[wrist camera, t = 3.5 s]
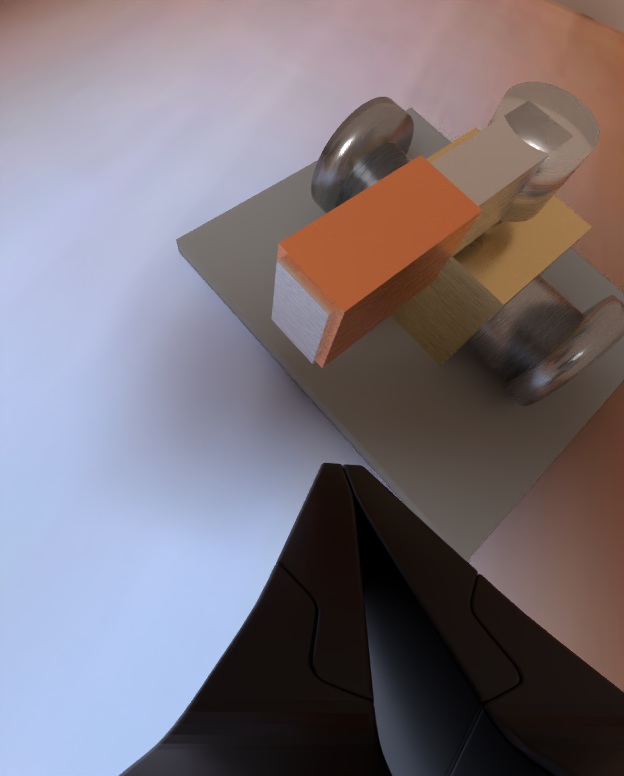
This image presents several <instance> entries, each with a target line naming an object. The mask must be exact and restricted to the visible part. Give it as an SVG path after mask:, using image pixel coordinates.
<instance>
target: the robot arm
mask: <svg viewBox="0 0 624 776" xmlns="http://www.w3.org/2000/svg"><path fill="white" fill-rule="evenodd" d="M477 574H478V572H477V570H476V569H474V568H473V567H472V566H471V565H470V564H469V563H468V562H467V561H466V560H465V559H464V558H463V557H461V556H460V555H459V554H458V553H457V552H456V551H455V550H454V549H453V548H452V547H451V546H449V545H448V544H447V543H446V542H445V541H444V540H443V539H442V538H441V537H440V536H439V535H437V534H436V533H435V532H434V531H433V530H432V529H431V528H430V527H429V526H428V525H427V524H425V523H424V522H423V521H422V520H421V519H420V518H419V517H418V516H417V515H416V514H415V513H413V512H412V511H411V510H410V509H409V508H408V507H407V506H406V505H405V504H404V503H403V502H401V501H400V500H399V499H398V498H397V497H396V496H395V495H394V494H393V493H392V492H391V491H389V490H388V489H387V488H386V487H385V486H384V485H383V484H382V483H381V482H380V481H379V480H377V479H376V478H375V477H374V476H373V475H372V474H371V473H370V472H369V471H368V470H367V469H365V468H364V467H363V466H360V465H343V467H342V465H341V464H333V463H323V464H322V465H321V467H320V469H319V471H318V474H317V476H316V478H315V480H314V482H313V484H312V487H311V489H310V491H309V493H308V495H307V497H306V500H305V502H304V504H303V506H302V508H301V510H300V513H299V515H298V517H297V519H296V521H295V523H294V526H293V528H292V530H291V532H290V534H289V536H288V539H287V541H286V543H285V545H284V547H283V549H282V552H281V554H280V556H279V558H278V560H277V562H276V565H275V566H274V568H273V570H272V573H271V575H270V577H269V579H268V581H267V583H266V585H265V587H264V589H263V591H262V593H261V595H260V597H259V599H258V600H257V602H256V604H255V606H254V607H253V609H252V611H251V612H250V614H249V616H248V617H247V619H246V620H245V622H244V624H243V625H242V627H241V629H240V630H239V632H238V633H237V635H236V636H235V637H234V639H233V640H232V642H231V643H230V645H229V646H228V648H227V649H226V651H225V652H224V654H223V655H222V657H221V658H220V660H219V661H218V663H217V664H216V666H215V667H214V669H213V670H212V672H211V673H210V675H209V676H208V678H207V679H206V681H205V682H204V684H203V685H202V687H201V688H200V690H199V691H198V693H197V694H196V695H195V697H194V698H193V700H192V701H191V703H190V704H189V706H188V707H187V708H186V710H185V711H184V713H183V714H182V715H181V716H180V718H179V719H178V720H177V722H176V723H175V724H174V726H173V727H172V728H171V729H170V730H169V731H168V733H167V734H166V735H165V736H164V737H163V738H162V739H161V740H160V741H159V742H158V743H157V744H156V745H155V746H154V747H153V748H152V749H151V750H150V751H149V752H147V753H146V754H145V755H144V756H143V757H141V758H140V759H139V760H138V761H136V762H135V763H134V764H133V765H131V766H130V767H129V768H128V769H126V770H125V771H124V772H123V773H122V774H120V775H119V776H624V692H622V691H621V690H620V689H619V688H617V687H616V686H615V685H614V684H612V683H611V682H610V681H609V680H607V679H606V678H605V677H603V676H602V675H601V674H600V673H598V672H597V671H596V670H595V669H593V668H592V667H591V666H590V665H588V664H587V663H586V662H585V661H583V660H582V659H581V658H579V657H578V656H577V655H576V654H574V653H573V652H572V651H571V650H569V649H568V648H567V647H566V646H564V645H563V644H562V643H561V642H559V641H558V640H557V639H556V638H554V637H553V636H552V635H551V634H549V633H548V632H547V631H546V630H545V629H543V628H542V627H541V626H540V625H538V624H537V623H536V622H535V621H534V620H532V619H531V618H530V617H529V616H527V615H526V614H525V613H524V612H523V611H521V610H520V609H519V608H518V607H517V606H516V605H515V604H514V603H512V602H511V601H510V600H509V599H508V598H507V597H506V596H504V595H503V594H502V593H501V592H500V591H499V590H498V589H497V588H495V587H494V586H493V585H492V584H491V583H490V582H489V581H488V580H487V579H486V578H485V577H483V576H482V575H481V574H478V575H477Z"/></svg>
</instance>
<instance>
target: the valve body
mask: <svg viewBox="0 0 624 776" xmlns="http://www.w3.org/2000/svg"><path fill="white" fill-rule="evenodd" d="M413 132H414V123H413V120H412V118H411V116H410V115H409V114H408V113H406V112H405V111H404V110H403V109H402V108H401V107H400V106H398V105H397V104H396V103H395V102H394V101H393V100H392V99H390V98H388V97H378V98H374V99H372V100H370V101H368V102H366V103H365V104H363V105H362V106H360V107H359V108H358V109H356V110H355V111H354V112H353V113H352V114H351V115H350V116H349V117H348V118H347V119H346V120H345V121H344V122H343V123H342V124H341V125H340V126H339V128H338V129H337V130H336V131H335V133H334V134H333V135H332V137H331V138H330V140H329V141H328V143H327V145H326V146H325V148H324V150H323V152H322V153H321V156H320V158H319V160H318V162H317V165H316V167H315V170H314V173H313V177H312V182H311V194H312V198H313V200H314V201H315V203H316V204H317V205H318V206H319V207H320V208H321V209H322V210H323V211H324V212H325V213H328V212H330V211H331V210H333V209H335V208H336V207H338V206H339V205H341V204H343V203H344V202H346V201H347V200H349V199H351V198H352V197H354V196H355V195H357V194H359V193H360V192H362V191H363V190H365V189H367V188H368V187H370V186H372V185H373V184H375V183H376V182H378V181H380V180H381V179H383V178H384V177H386V176H388V175H389V174H391V173H392V172H394V171H396V170H397V169H399V168H400V167H402V166H404V165H405V164H407V163H409V162H410V161H412V159H411V158H410V157H409V156H408V155H406V154H407V152H408V150H409V147H410V144H411V141H412V137H413ZM478 132H480V131H479V130H478V129H477V128H474V129H473V130H471V131H470V132H468V133H466V134H465V135H463V136H462V137H460V138H459V139H457V140H455V141H454V142H452V143H451V144H449V145H447V146H446V147H444V148H443V149H441V150H439V151H438V152H436V153H435V154H433V155H432V156H430V157H428V158H427V159H426V160H427V161H428V162H429V163H431V162H433V161H434V160H436V159H437V158H439V157H440V156H442V155H444V154H445V153H447V152H448V151H450V150H451V149H453V148H455V147H456V146H458V145H459V144H461V143H462V142H464V141H466V140H467V139H469V138H470V137H472V136H473V135H475V134H476V133H478ZM591 228H592V226H590V225H589V224H588V223H587V222H586V221H585V220H583V219H582V218H581V217H580V216H579V215H578V214H576V213H575V212H574V211H573V210H572V209H571V208H569V207H568V206H567V205H566V204H565V203H564V202H562V201H561V200H560V199H559V198H558V197H556V196H555V195H554V196H553V197H552V198H551V199H550V200H549V201H548V203H547V204H546V205H545V206H544V207H543V209H542V210H541V211H540V212H539V213H538V214H537V215H536V216H535V217H533V218H532V219H530V220H527V221H523V222H506V221H501V220H499V221H498V222H497V223H495V224H494V225H493V226H492V227H490V228H489V229H488V230H486V231H485V232H484V233H482V234H481V235H480V236H479V237H477V238H476V239H475V240H473V241H472V242H471V243H469V244H468V245H467V246H466V247H464V248H463V249H462V250H460V251H459V252H458V253H456V254H455V255H454V256H452V257H451V258H450V259H449V260H448V261H447V263H446V264H445V266H444V267H443V269H442V270H441V272H440V273H439V275H438V276H437V278H436V279H435V280H434V282H432V283H431V284H430V285H429V286H427V287H426V288H425V289H423V290H422V291H421V292H420V293H418V294H417V295H416V296H414V297H413V298H412V299H411V300H409V301H408V302H407V303H405V304H404V305H403V306H402V307H400V308H399V309H398V310H396V311H395V312H394V313H393V314H391V315H390V316H391V317H392V318H393V319H394V320H395V321H396V322H397V323H398V324H399V325H400V326H401V327H402V328H403V329H404V330H405V331H406V332H407V333H408V334H409V335H410V336H411V337H412V338H413V339H414V340H415V341H416V342H417V343H418V344H419V345H420V346H421V347H422V348H423V349H424V350H425V351H426V352H427V353H428V354H429V355H430V356H431V357H432V358H433V359H434V360H435V361H436V362H437V363H438V364H439V365H440V366H441V365H442V364H443V363H445V362H446V361H447V360H448V359H449V358H450V357H451V356H452V355H454V354H455V353H456V352H457V351H458V350H459V349H460V348H461V347H463V346H464V345H465V344H466V343H467V344H468V345H469V346H470V347H471V348H472V349H473V350H474V351H475V352H476V353H477V354H478V355H479V356H480V357H481V358H482V359H483V360H484V361H485V362H486V363H487V364H488V365H489V366H490V367H491V368H492V369H493V370H494V371H495V372H496V373H497V374H498V375H499V376H500V377H501V378H502V379H503V380H504V381H505V382H504V383H503V385H502V388H503V389H504V390H505V391H506V392H507V393H508V394H509V395H510V396H511V397H512V398H513V399H514V400H515V401H516V402H517V403H518V404H519V405H520V406H522V407H525V406H529V405H531V404H534V403H536V402H538V401H539V400H541V399H543V398H545V397H546V396H548V395H550V394H551V393H553V392H555V391H556V390H558V389H559V388H561V387H562V386H564V385H565V384H566V383H568V382H569V381H571V380H572V379H573V378H575V377H576V376H577V375H579V374H580V373H581V372H583V371H584V370H585V369H587V368H588V367H589V366H590V365H592V364H593V363H594V362H595V361H597V360H598V359H599V358H600V357H601V356H603V355H604V354H605V353H606V352H607V351H608V350H609V349H611V348H612V347H613V346H614V345H615V344H616V343H617V342H618V341H619V340H620V339H621V338H622V337H623V336H624V304H623V303H622V302H621V301H620V300H619V299H618V298H617V297H615V296H614V295H611V296H608V297H606V298H605V299H603V300H601V301H600V302H598V303H597V304H595V305H594V306H592V307H591V308H589V309H588V310H587V311H585V312H584V313H581V312H580V311H579V310H578V309H577V308H575V307H574V306H573V305H572V304H571V303H570V302H569V301H568V300H567V299H565V298H564V297H563V296H562V295H561V294H560V293H559V292H558V291H557V290H556V289H554V288H553V287H552V286H551V285H550V284H549V283H548V282H547V281H546V280H545V279H543V278H542V277H541V275H542V274H543V273H544V272H545V271H546V270H547V269H548V268H549V267H550V266H552V265H553V264H554V263H555V262H556V261H557V260H558V259H559V258H560V257H561V256H562V255H563V254H564V253H565V252H566V251H567V250H568V249H570V248H571V247H572V246H573V245H574V244H575V243H576V242H577V241H578V240H579V239H580V238H581V237H582V236H583V235H584V234H585V233H586V232H588V231H589V230H590V229H591Z"/></svg>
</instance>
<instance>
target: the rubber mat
mask: <svg viewBox="0 0 624 776" xmlns="http://www.w3.org/2000/svg"><path fill="white" fill-rule="evenodd" d="M405 112H406V113H408V114H409V115H410V116H411V118H412V120H413V123H414V132H413V137H412V141H411V144H410V147H409V150H408V152H407V154H406V155H408V156H409V157H410V158H411V159H412V160H413V159H415V158H417V157H418V156H420V155H422V156H423V157H424V158H425V159H427V158H428V157H430V156H432V155H433V154H435V153H436V152H438V151H439V150H441V149H443V148H444V147H446V146H447V145H449V144H451V142H450V141H449V140H448V139H447V138H445V137H444V136H443V135H442V134H441V133H440V132H439V131H437V130H436V129H435V128H434V127H433V126H432V125H431V124H429V123H428V122H427V121H426V120H425V119H424V118H423V117H421V116H420V115H419V114H418V113H417V112H416V111H415V110H413V109H412V108H410V109H408V110H407V111H405ZM317 162H318V161H316V162H314V163H312V164H310V165H309V166H307V167H305V168H303V169H302V170H300V171H298V172H296V173H294V174H293V175H291V176H289V177H287V178H285V179H284V180H282V181H280V182H278V183H277V184H275V185H273V186H271V187H269V188H268V189H266V190H264V191H262V192H261V193H259V194H257V195H255V196H253V197H252V198H250V199H248V200H246V201H244V202H243V203H241V204H239V205H237V206H236V207H234V208H232V209H230V210H228V211H227V212H225V213H223V214H221V215H220V216H218V217H216V218H214V219H212V220H211V221H209V222H207V223H205V224H203V225H202V226H200V227H198V228H196V229H195V230H193V231H191V232H189V233H187V234H186V235H184V236H182V237H180V238H179V239H177V240H176V241H177V245H178V249H179V252H180V253H181V255H182V256H183V257H184V258H185V259H186V260H187V261H188V262H189V264H190V265H191V266H192V267H193V268H194V269H195V270H196V271H197V272H198V274H199V275H200V276H201V277H202V278H203V279H204V280H205V281H206V283H207V284H208V285H209V286H210V287H211V288H212V289H213V290H214V291H215V293H216V294H217V295H218V296H219V297H220V298H221V299H222V300H223V302H224V303H225V304H226V305H227V306H228V307H229V308H230V309H231V310H232V312H233V313H234V314H235V315H236V316H237V317H238V318H239V319H240V321H241V322H242V323H243V324H244V325H245V326H246V327H247V328H248V329H249V331H250V332H251V333H252V334H253V335H254V336H255V337H256V338H257V340H258V341H259V342H260V343H261V344H262V345H263V346H264V347H265V348H266V350H267V351H268V352H269V353H270V354H271V355H272V356H273V357H274V359H275V360H276V361H277V362H278V363H279V364H280V365H281V366H282V367H283V369H284V370H285V371H286V372H287V373H288V374H289V375H290V376H291V378H292V379H293V380H294V381H295V382H296V383H297V384H298V385H299V386H300V388H301V389H302V390H303V391H304V392H305V393H306V394H307V395H308V397H309V398H310V399H311V400H312V401H313V402H314V403H315V404H316V405H317V407H318V408H319V409H320V410H321V411H322V412H323V413H324V414H325V416H326V417H327V418H328V419H329V420H330V421H331V422H332V423H333V424H334V426H335V427H336V428H337V429H338V430H339V431H340V432H341V433H342V435H343V436H344V437H345V438H346V439H347V440H348V441H349V442H350V443H351V445H352V446H353V447H354V448H355V449H356V450H357V451H358V452H359V454H360V455H361V456H362V457H363V458H364V459H365V460H366V461H367V462H368V464H369V465H370V466H371V467H372V468H373V469H374V470H375V471H376V473H377V474H378V475H379V476H380V477H381V478H382V479H383V480H384V481H385V483H386V484H387V485H388V486H389V487H390V488H391V489H392V490H393V492H394V493H395V494H396V495H397V496H398V497H399V498H400V499H401V500H402V502H403V503H404V504H405V505H406V506H407V507H408V508H409V509H410V510H411V511H412V512H413V513H415V514H416V515H417V516H418V517H419V518H420V519H421V520H422V521H423V522H424V523H425V524H427V525H428V526H429V527H430V528H431V529H432V530H433V531H434V532H435V533H436V534H437V535H439V536H440V537H441V538H442V539H443V540H444V541H445V542H446V543H447V544H448V545H449V546H451V547H452V548H453V549H454V550H455V551H456V552H457V553H458V554H459V555H460V556H461V557H463V558H464V559H465V560H466V561H468V559H469V558H470V557H471V556H472V555H473V554H474V552H475V551H476V550H477V549H478V548H479V547H480V546H481V544H482V543H483V542H484V541H485V540H486V539H487V537H488V536H489V535H490V534H491V533H492V532H493V531H494V529H495V528H496V527H497V526H498V525H499V524H500V522H501V521H502V520H503V519H504V518H505V517H506V516H507V514H508V513H509V512H510V511H511V510H512V509H513V507H514V506H515V505H516V504H517V503H518V502H519V501H520V499H521V498H522V497H523V496H524V495H525V494H526V492H527V491H528V490H529V489H530V488H531V487H532V486H533V484H534V483H535V482H536V481H537V480H538V479H539V477H540V476H541V475H542V474H543V473H544V472H545V471H546V469H547V468H548V467H549V466H550V465H551V464H552V463H553V461H554V460H555V459H556V458H557V457H558V456H559V454H560V453H561V452H562V451H563V450H564V449H565V448H566V446H567V445H568V444H569V443H570V442H571V441H572V439H573V438H574V437H575V436H576V435H577V434H578V433H579V431H580V430H581V429H582V428H583V427H584V426H585V424H586V423H587V422H588V421H589V420H590V419H591V418H592V416H593V415H594V414H595V413H596V412H597V411H598V409H599V408H600V407H601V406H602V405H603V404H604V403H605V401H606V400H607V399H608V398H609V397H610V396H611V394H612V393H613V392H614V391H615V390H616V389H617V388H618V386H619V385H620V384H621V383H622V382H623V381H624V336H623V337H622V338H621V339H620V340H619V341H618V342H617V343H616V344H615V345H614V346H613V347H612V348H611V349H609V350H608V351H607V352H606V353H605V354H604V355H603V356H601V357H600V358H599V359H598V360H597V361H595V362H594V363H593V364H592V365H590V366H589V367H588V368H587V369H585V370H584V371H583V372H581V373H580V374H579V375H577V376H576V377H575V378H573V379H572V380H571V381H569V382H568V383H566V384H565V385H564V386H562V387H561V388H559V389H558V390H556V391H555V392H553V393H551V394H550V395H548V396H546V397H545V398H543V399H541V400H539V401H538V402H536V403H534V404H531V405H529V406H525V407H522V406H520V405H519V404H518V403H517V402H516V401H515V400H514V399H513V398H512V397H511V396H510V395H509V394H508V393H507V392H506V391H505V390H504V389H503V388H502V385H503V383H504V382H505V381H504V380H503V379H502V378H501V377H500V376H499V375H498V374H497V373H496V372H495V371H494V370H493V369H492V368H491V367H490V366H489V365H488V364H487V363H486V362H485V361H484V360H483V359H482V358H481V357H480V356H479V355H478V354H477V353H476V352H475V351H474V350H473V349H472V348H471V347H470V346H469V345H468V344H467V343H466V344H465V345H464V346H463V347H461V348H460V349H459V350H458V351H457V352H456V353H455V354H454V355H452V356H451V357H450V358H449V359H448V360H447V361H446V362H445V363H443V364H442V365H441V366H440V365H439V364H438V363H437V362H436V361H435V360H434V359H433V358H432V357H431V356H430V355H429V354H428V353H427V352H426V351H425V350H424V349H423V348H422V347H421V346H420V345H419V344H418V343H417V342H416V341H415V340H414V339H413V338H412V337H411V336H410V335H409V334H408V333H407V332H406V331H405V330H404V329H403V328H402V327H401V326H400V325H399V324H398V323H397V322H396V321H395V320H394V319H393V318H392V317H391V316H389V317H387V318H386V319H385V320H384V321H382V322H381V323H380V324H378V325H377V326H376V327H375V328H373V329H372V330H371V331H370V332H368V333H367V334H366V335H364V336H363V337H362V338H361V339H359V340H358V341H357V342H355V343H354V344H353V345H352V346H350V347H349V348H348V349H346V350H345V351H344V352H343V353H341V354H340V355H339V356H337V357H336V358H335V359H334V360H332V361H331V362H330V363H328V364H327V365H326V366H325V367H323V368H322V367H321V366H320V365H319V364H318V363H317V362H314V363H313V364H312V363H311V362H310V361H309V360H308V359H307V357H306V356H305V355H304V354H303V353H302V352H301V351H300V350H299V349H298V348H297V346H296V345H295V344H294V343H293V342H292V341H291V340H290V339H289V338H288V337H287V336H286V334H285V333H284V332H283V331H282V330H281V329H280V328H279V327H278V326H277V325H276V323H275V322H274V321H273V320H272V308H273V297H274V286H275V275H276V264H277V255H278V244H279V243H280V242H281V241H283V240H285V239H286V238H288V237H289V236H291V235H293V234H294V233H296V232H298V231H299V230H301V229H302V228H304V227H306V226H307V225H309V224H310V223H312V222H314V221H315V220H317V219H318V218H320V217H322V216H323V215H325V214H326V213H325V212H324V211H323V210H322V209H321V208H320V207H319V206H318V205H317V204H316V203H315V201H314V200H313V198H312V194H311V182H312V177H313V173H314V170H315V167H316V165H317ZM541 277H542V278H543V279H545V280H546V281H547V282H548V283H549V284H550V285H551V286H552V287H553V288H554V289H556V290H557V291H558V292H559V293H560V294H561V295H562V296H563V297H564V298H565V299H567V300H568V301H569V302H570V303H571V304H572V305H573V306H574V307H575V308H577V309H578V310H579V311H580V312H581V313H584V312H585V311H587V310H588V309H589V308H591V307H592V306H594V305H595V304H597V303H598V302H600V301H601V300H603V299H605V298H606V297H608V296H611V295H614V296H615V297H617V298H618V299H619V300H620V301H621V302H622V303H623V304H624V293H623V292H621V291H620V290H619V289H618V288H617V287H616V286H615V285H613V284H612V283H611V282H610V281H609V280H608V279H607V278H605V277H604V276H603V275H602V274H601V273H600V272H599V271H597V270H596V269H595V268H594V267H593V266H592V265H591V264H589V263H588V262H587V261H586V260H585V259H584V258H583V257H581V256H580V255H579V254H578V253H577V252H576V251H575V250H573V249H572V248H570V249H568V250H567V251H566V252H565V253H564V254H563V255H562V256H561V257H560V258H559V259H558V260H557V261H556V262H555V263H554V264H553V265H552V266H550V267H549V268H548V269H547V270H546V271H545V272H544V273H543V274H542V275H541Z"/></svg>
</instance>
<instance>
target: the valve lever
mask: <svg viewBox="0 0 624 776" xmlns="http://www.w3.org/2000/svg"><path fill="white" fill-rule="evenodd" d="M599 136H600V130H599V126H598V123H597V120H596V118H595V116H594V115H593V113H592V112H591V111H590V109H589V108H588V107H587V106H586V105H585V104H584V103H583V102H582V101H581V100H580V99H578V98H577V97H576V96H574V95H573V94H571V93H569V92H568V91H566V90H564V89H561V88H559V87H557V86H554V85H550V84H546V83H541V82H525V83H521V84H517V85H515V86H513V87H512V88H510V89H509V90H508V91H507V92H506V94H505V95H504V97H503V99H502V101H501V103H500V104H499V106H498V108H497V110H496V112H495V113H494V115H493V117H492V119H491V120H490V122H489V124H488V126H487V127H486V128H484V129H483V130H481V131H480V132H478V133H476V134H475V135H473V136H472V137H470V138H469V139H467V140H466V141H464V142H462V143H461V144H459V145H458V146H456V147H455V148H453V149H451V150H450V151H448V152H447V153H445V154H444V155H442V156H440V157H439V158H437V159H436V160H434V161H433V162H431V163H429V162H428V161H427V160H426V159H425V158H424V157H423V156H422V155H420V156H418V157H417V158H415V159H413V160H412V161H410V162H409V163H407V164H405V165H404V166H402V167H400V168H399V169H397V170H396V171H394V172H392V173H391V174H389V175H388V176H386V177H384V178H383V179H381V180H380V181H378V182H376V183H375V184H373V185H372V186H370V187H368V188H367V189H365V190H363V191H362V192H360V193H359V194H357V195H355V196H354V197H352V198H351V199H349V200H347V201H346V202H344V203H343V204H341V205H339V206H338V207H336V208H335V209H333V210H331V211H330V212H328V213H326V214H325V215H323V216H322V217H320V218H318V219H317V220H315V221H314V222H312V223H310V224H309V225H307V226H306V227H304V228H302V229H301V230H299V231H298V232H296V233H294V234H293V235H291V236H289V237H288V238H286V239H285V240H283V241H281V242H280V243H279V244H278V255H277V264H276V275H275V286H274V297H273V308H272V320H273V321H274V322H275V323H276V325H277V326H278V327H279V328H280V329H281V330H282V331H283V332H284V333H285V334H286V336H287V337H288V338H289V339H290V340H291V341H292V342H293V343H294V344H295V345H296V346H297V348H298V349H299V350H300V351H301V352H302V353H303V354H304V355H305V356H306V357H307V359H308V360H309V361H310V362H311V363H312V364H313V363H314V362H317V363H318V364H319V365H320V366H321V367H322V368H323V367H325V366H326V365H327V364H328V363H330V362H331V361H332V360H334V359H335V358H336V357H337V356H339V355H340V354H341V353H343V352H344V351H345V350H346V349H348V348H349V347H350V346H352V345H353V344H354V343H355V342H357V341H358V340H359V339H361V338H362V337H363V336H364V335H366V334H367V333H368V332H370V331H371V330H372V329H373V328H375V327H376V326H377V325H378V324H380V323H381V322H382V321H384V320H385V319H386V318H387V317H389V316H390V315H391V314H393V313H394V312H395V311H396V310H398V309H399V308H400V307H402V306H403V305H404V304H405V303H407V302H408V301H409V300H411V299H412V298H413V297H414V296H416V295H417V294H418V293H420V292H421V291H422V290H423V289H425V288H426V287H427V286H429V285H430V284H431V283H432V282H434V280H435V279H436V278H437V276H438V275H439V273H440V272H441V270H442V269H443V267H444V266H445V264H446V263H447V261H448V260H449V259H450V258H451V257H452V256H454V255H455V254H456V253H458V252H459V251H460V250H462V249H463V248H464V247H466V246H467V245H468V244H469V243H471V242H472V241H473V240H475V239H476V238H477V237H479V236H480V235H481V234H482V233H484V232H485V231H486V230H488V229H489V228H490V227H492V226H493V225H494V224H495V223H497V222H498V221H499V220H501V221H506V222H523V221H527V220H530V219H532V218H533V217H535V216H536V215H537V214H538V213H539V212H540V211H541V210H542V209H543V207H544V206H545V205H546V204H547V203H548V201H549V200H550V199H551V198H552V197H553V196H554V194H555V193H556V192H557V191H558V190H559V189H560V187H561V186H562V185H563V184H564V183H565V182H566V180H567V179H568V178H569V177H570V176H571V175H572V173H573V172H574V171H575V170H576V169H577V168H578V166H579V165H580V164H581V163H582V162H583V161H584V159H585V158H586V157H587V156H588V155H589V154H590V152H591V151H592V150H593V149H594V148H595V146H596V145H597V143H598V141H599Z"/></svg>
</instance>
